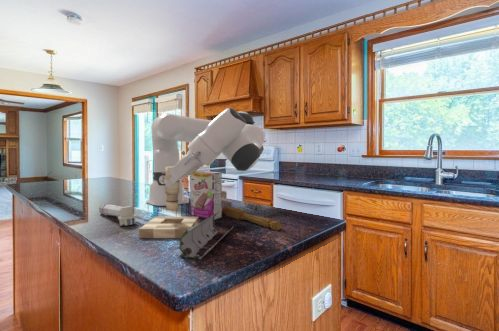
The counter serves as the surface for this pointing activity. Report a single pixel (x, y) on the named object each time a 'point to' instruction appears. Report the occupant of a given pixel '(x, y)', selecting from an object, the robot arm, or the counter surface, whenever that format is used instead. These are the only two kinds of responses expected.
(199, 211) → the candy bar box
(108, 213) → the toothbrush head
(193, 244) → the grey angled channel
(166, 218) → the board
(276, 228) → the tap handle
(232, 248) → the counter surface
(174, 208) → the peg
